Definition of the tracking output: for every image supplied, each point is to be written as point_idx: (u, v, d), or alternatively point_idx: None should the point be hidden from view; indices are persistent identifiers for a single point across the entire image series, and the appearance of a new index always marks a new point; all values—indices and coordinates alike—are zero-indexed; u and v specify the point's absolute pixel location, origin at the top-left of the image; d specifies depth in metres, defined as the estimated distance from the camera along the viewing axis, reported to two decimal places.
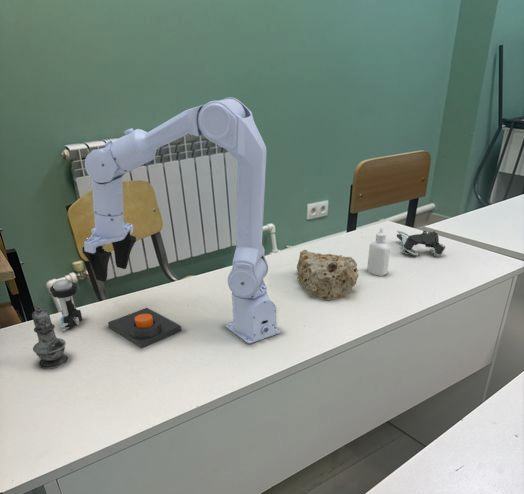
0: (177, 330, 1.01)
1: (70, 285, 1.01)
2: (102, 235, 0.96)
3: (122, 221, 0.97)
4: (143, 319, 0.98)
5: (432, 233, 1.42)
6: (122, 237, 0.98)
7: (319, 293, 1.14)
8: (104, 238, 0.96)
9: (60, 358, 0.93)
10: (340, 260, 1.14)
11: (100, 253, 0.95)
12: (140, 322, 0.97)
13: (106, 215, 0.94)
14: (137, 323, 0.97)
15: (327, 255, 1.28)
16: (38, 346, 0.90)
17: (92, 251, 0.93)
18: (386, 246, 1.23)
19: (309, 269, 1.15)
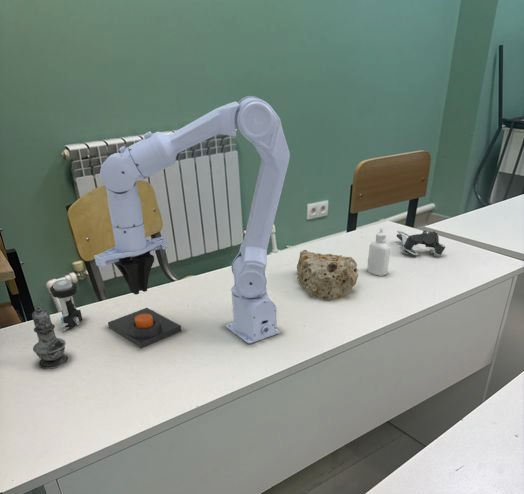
0: (177, 330, 1.01)
1: (70, 285, 1.01)
2: (118, 249, 0.89)
3: (139, 234, 0.88)
4: (143, 319, 0.98)
5: (432, 233, 1.42)
6: (140, 251, 0.89)
7: (319, 293, 1.14)
8: (120, 252, 0.88)
9: (60, 358, 0.93)
10: (340, 260, 1.14)
11: (125, 264, 0.89)
12: (140, 322, 0.97)
13: (118, 227, 0.86)
14: (137, 323, 0.97)
15: (327, 255, 1.28)
16: (38, 346, 0.90)
17: (100, 265, 0.87)
18: (386, 246, 1.23)
19: (309, 269, 1.15)
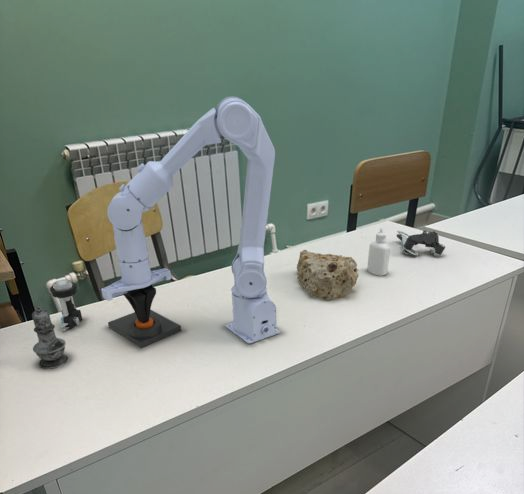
0: (177, 330, 1.01)
1: (70, 285, 1.01)
2: (124, 282, 0.92)
3: (144, 268, 0.91)
4: None
5: (432, 233, 1.42)
6: (145, 284, 0.92)
7: (319, 293, 1.14)
8: (125, 285, 0.92)
9: (60, 358, 0.93)
10: (340, 260, 1.14)
11: (133, 295, 0.93)
12: (141, 325, 0.97)
13: (124, 262, 0.89)
14: (138, 326, 0.98)
15: (327, 255, 1.28)
16: (38, 346, 0.90)
17: (107, 298, 0.90)
18: (386, 246, 1.23)
19: (309, 269, 1.15)
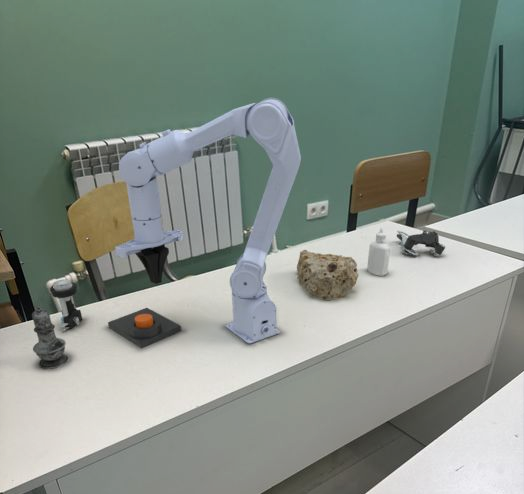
0: (177, 330, 1.01)
1: (70, 285, 1.01)
2: (138, 240, 0.93)
3: (158, 226, 0.92)
4: (143, 319, 0.98)
5: (432, 233, 1.42)
6: (158, 243, 0.93)
7: (319, 293, 1.14)
8: (139, 244, 0.93)
9: (60, 358, 0.93)
10: (340, 260, 1.14)
11: (146, 254, 0.94)
12: (140, 322, 0.97)
13: (138, 219, 0.90)
14: (137, 323, 0.97)
15: (327, 255, 1.28)
16: (38, 346, 0.90)
17: (121, 256, 0.91)
18: (386, 246, 1.23)
19: (309, 269, 1.15)
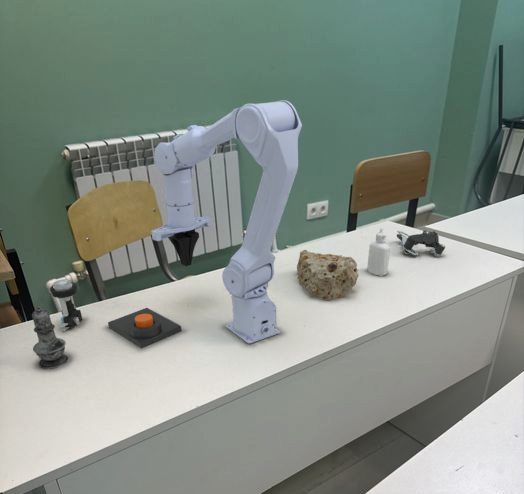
0: (177, 330, 1.01)
1: (70, 285, 1.01)
2: (171, 225, 1.01)
3: (190, 212, 1.00)
4: (143, 319, 0.98)
5: (432, 233, 1.42)
6: (190, 228, 1.01)
7: (319, 293, 1.14)
8: (173, 228, 1.01)
9: (60, 358, 0.93)
10: (340, 260, 1.14)
11: (179, 238, 1.02)
12: (140, 322, 0.97)
13: (173, 205, 0.98)
14: (137, 323, 0.97)
15: (327, 255, 1.28)
16: (38, 346, 0.90)
17: (157, 239, 0.99)
18: (386, 246, 1.23)
19: (309, 269, 1.15)
